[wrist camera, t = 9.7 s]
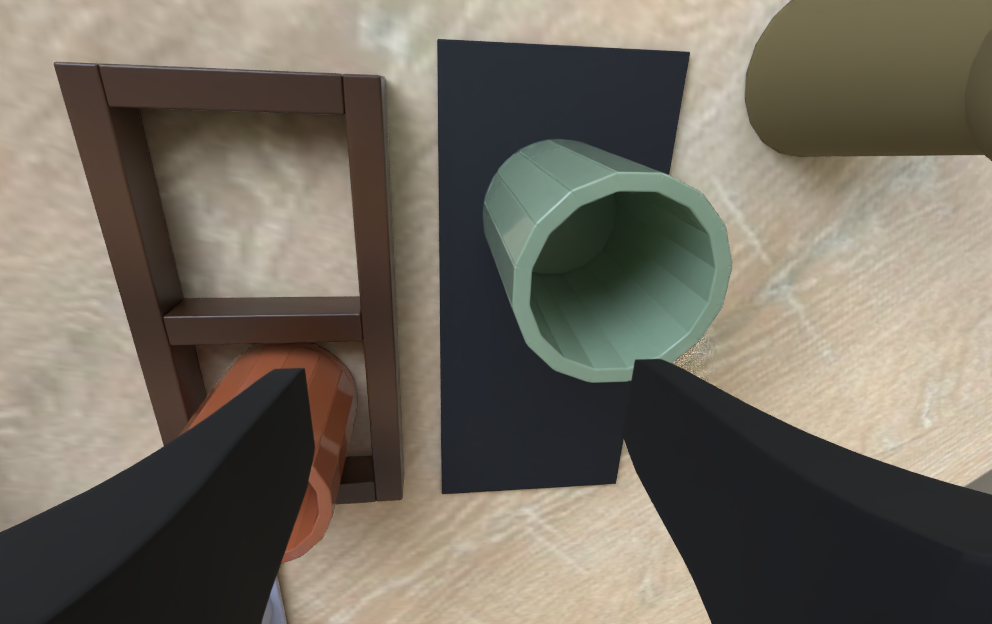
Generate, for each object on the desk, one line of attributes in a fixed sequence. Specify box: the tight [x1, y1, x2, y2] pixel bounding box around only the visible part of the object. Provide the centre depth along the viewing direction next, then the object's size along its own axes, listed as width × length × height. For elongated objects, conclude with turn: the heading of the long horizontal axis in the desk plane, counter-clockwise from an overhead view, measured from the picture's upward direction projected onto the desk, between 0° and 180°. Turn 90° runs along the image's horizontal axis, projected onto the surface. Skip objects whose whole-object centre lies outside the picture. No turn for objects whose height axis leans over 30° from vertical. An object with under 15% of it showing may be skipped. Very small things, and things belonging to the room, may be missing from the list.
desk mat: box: [437, 39, 690, 494], centre depth 22 cm, size 20×9×1 cm, turn 178°
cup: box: [483, 139, 732, 383], centre depth 16 cm, size 6×6×8 cm
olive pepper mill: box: [745, 0, 992, 161], centre depth 14 cm, size 6×6×11 cm
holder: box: [54, 62, 404, 504], centre depth 20 cm, size 18×9×2 cm, turn 178°
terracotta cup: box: [178, 342, 357, 564], centre depth 19 cm, size 6×6×6 cm
